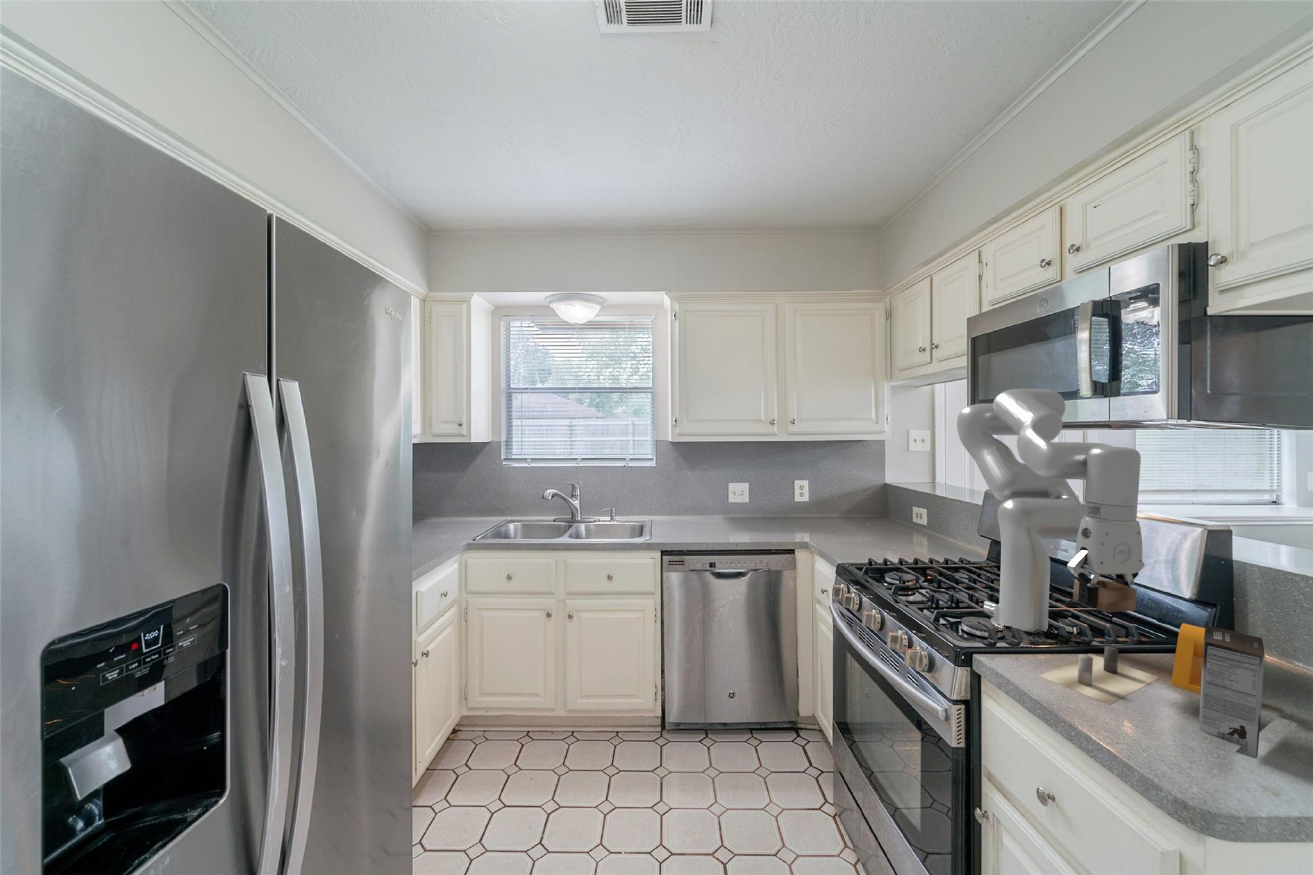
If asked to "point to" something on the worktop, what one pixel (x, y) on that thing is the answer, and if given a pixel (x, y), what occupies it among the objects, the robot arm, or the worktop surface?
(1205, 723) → the coffee box
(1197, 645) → the bracket
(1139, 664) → the worktop surface
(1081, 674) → the board
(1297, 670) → the worktop surface
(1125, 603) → the collar
